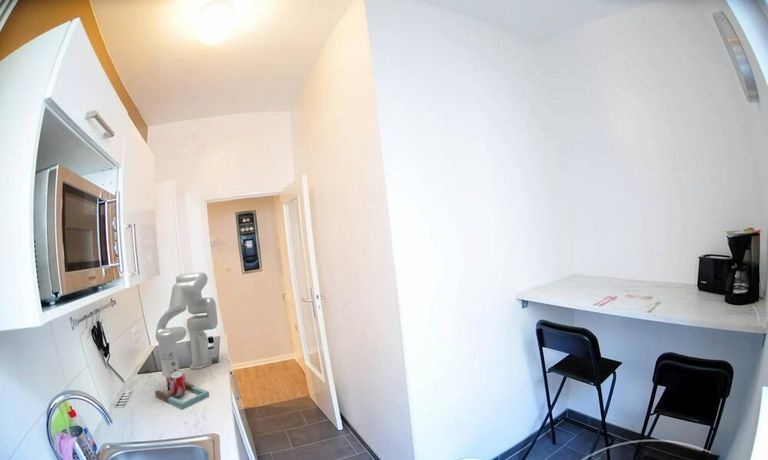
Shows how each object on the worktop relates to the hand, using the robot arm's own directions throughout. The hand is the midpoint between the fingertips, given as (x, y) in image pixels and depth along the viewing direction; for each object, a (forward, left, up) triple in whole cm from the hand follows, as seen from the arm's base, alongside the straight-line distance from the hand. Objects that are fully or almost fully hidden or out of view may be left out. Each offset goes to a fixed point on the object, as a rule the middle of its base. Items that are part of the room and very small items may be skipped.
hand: (171, 389), depth 184 cm
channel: (-1, +2, -2) cm, 3 cm away
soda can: (-1, +4, -2) cm, 5 cm away
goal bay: (-1, +15, -2) cm, 15 cm away
